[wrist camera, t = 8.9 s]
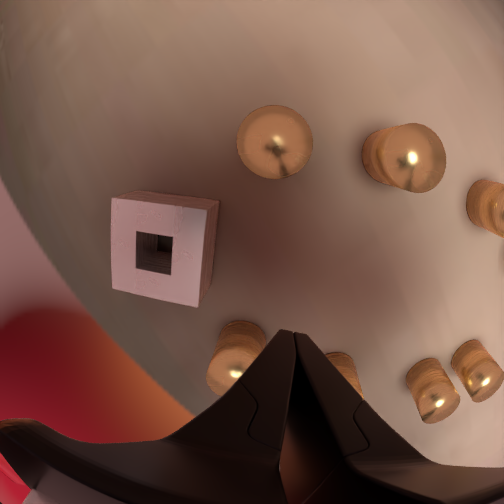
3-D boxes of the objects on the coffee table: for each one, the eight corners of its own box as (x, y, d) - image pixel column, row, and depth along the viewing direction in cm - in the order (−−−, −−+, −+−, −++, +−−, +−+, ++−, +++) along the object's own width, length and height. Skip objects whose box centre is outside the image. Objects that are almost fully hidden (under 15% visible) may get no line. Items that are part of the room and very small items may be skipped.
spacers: (458, 393, 19) (475, 423, 15) (207, 361, 20) (193, 401, 16) (541, 204, 14) (576, 216, 10) (257, 95, 14) (249, 76, 10)
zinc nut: (210, 284, 18) (197, 307, 15) (135, 269, 18) (112, 288, 15) (219, 200, 16) (206, 210, 13) (137, 190, 16) (111, 197, 14)
